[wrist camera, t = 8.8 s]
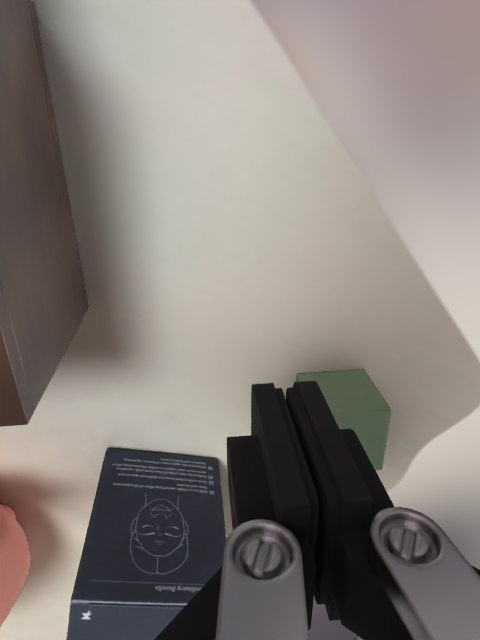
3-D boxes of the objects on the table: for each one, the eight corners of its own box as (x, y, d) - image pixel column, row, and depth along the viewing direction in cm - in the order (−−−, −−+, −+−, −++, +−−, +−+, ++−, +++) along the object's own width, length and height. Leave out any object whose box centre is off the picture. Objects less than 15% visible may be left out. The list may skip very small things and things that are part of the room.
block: (297, 373, 29) (314, 416, 25) (363, 368, 29) (391, 410, 25) (294, 428, 31) (310, 476, 27) (357, 423, 31) (382, 469, 27)
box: (98, 505, 32) (59, 672, 22) (106, 444, 30) (67, 601, 20) (205, 513, 33) (211, 674, 24) (220, 456, 31) (234, 608, 22)
